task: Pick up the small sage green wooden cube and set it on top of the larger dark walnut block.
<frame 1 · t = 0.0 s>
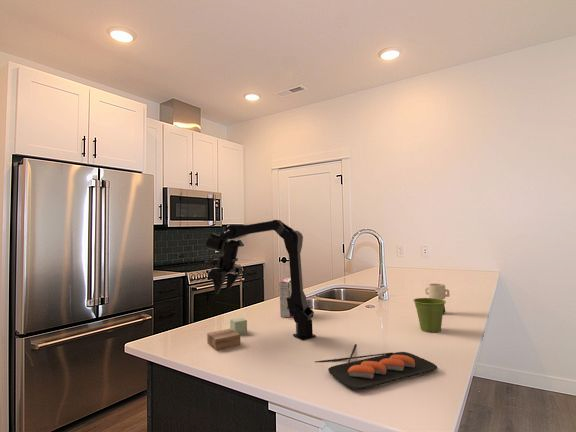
hand: (222, 291, 137), 15 cm above the counter, tool pointing down, fingers open, 9 cm apart
character mug: (438, 313, 155), on the counter
candy bar box: (287, 315, 159), on the counter
green cube: (238, 332, 133), on the counter
plant pot: (430, 330, 130), on the counter
walnut block: (223, 345, 120), on the counter
sushi plate: (365, 365, 100), on the counter
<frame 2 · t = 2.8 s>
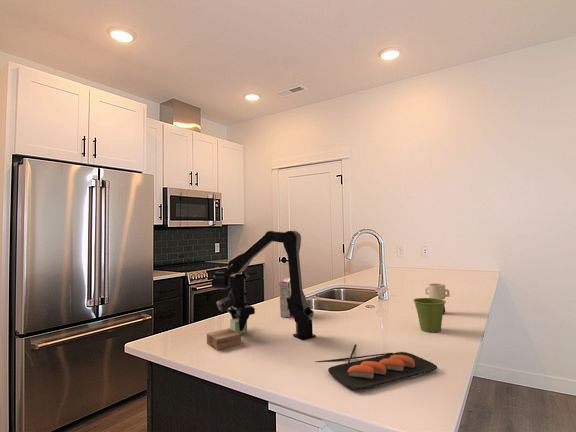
hand: (238, 329, 134), 1 cm above the counter, tool pointing down, fingers closed on green cube, 5 cm apart
green cube: (238, 332, 133), on the counter, touching gripper
everything else where it was.
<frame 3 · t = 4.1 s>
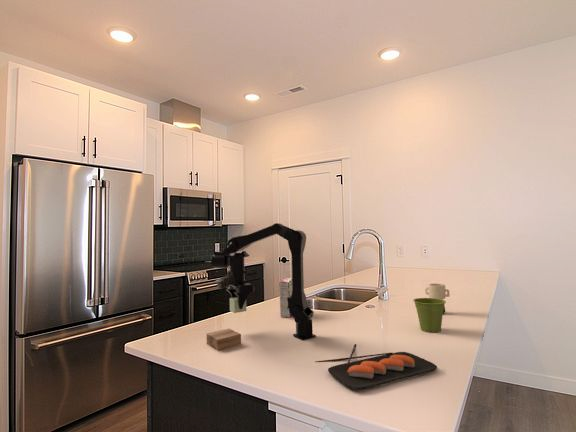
hand: (238, 307, 134), 10 cm above the counter, tool pointing down, fingers closed on green cube, 5 cm apart
green cube: (238, 310, 134), point 8 cm above the counter, touching gripper
everything else where it was.
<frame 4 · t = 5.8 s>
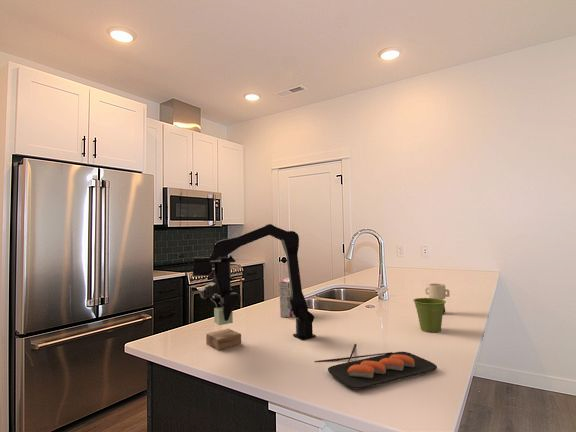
hand: (223, 319, 120), 9 cm above the counter, tool pointing down, fingers closed on green cube, 5 cm apart
green cube: (223, 322, 120), point 8 cm above the counter, touching gripper
everything else where it was.
when the fingers open (6 cm above the counter, at t = 7.1 s): green cube drops 2 cm, point 4 cm above the counter.
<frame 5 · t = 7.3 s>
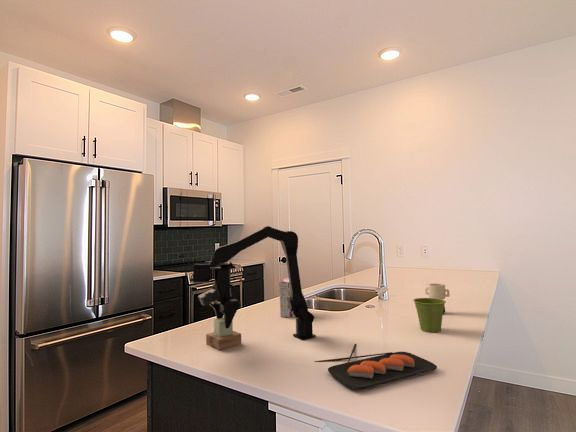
hand: (223, 325, 120), 6 cm above the counter, tool pointing down, fingers open, 7 cm apart
green cube: (223, 333, 120), point 4 cm above the counter
everything else where it was.
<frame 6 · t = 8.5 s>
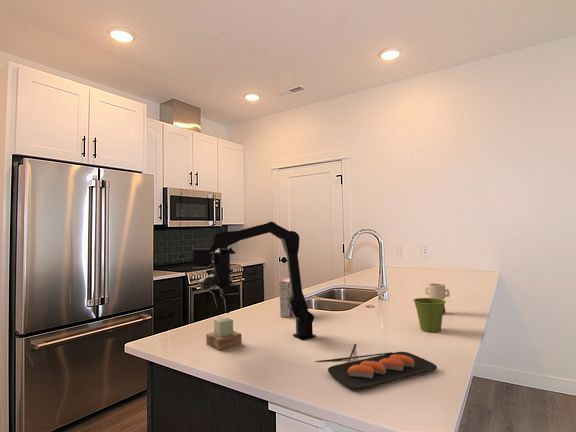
hand: (222, 310, 120), 12 cm above the counter, tool pointing down, fingers open, 9 cm apart
green cube: (223, 333, 120), point 4 cm above the counter, touching walnut block
walnut block: (224, 345, 120), on the counter, touching green cube
everything else where it was.
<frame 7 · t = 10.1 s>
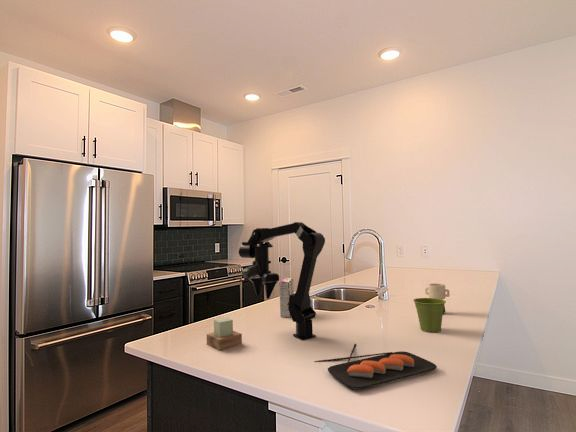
hand: (262, 296, 138), 13 cm above the counter, tool pointing down, fingers open, 9 cm apart
nothing on the counter moved.
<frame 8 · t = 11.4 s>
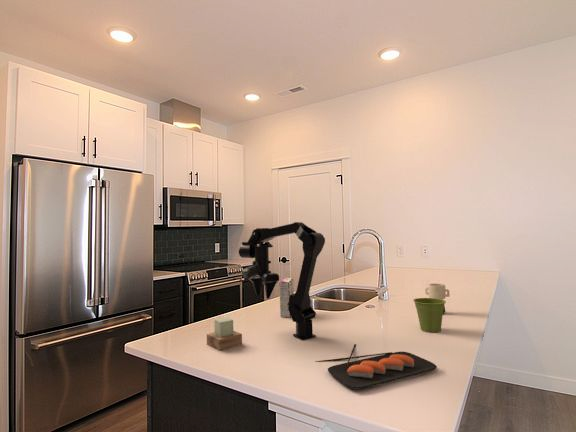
hand: (262, 296, 138), 13 cm above the counter, tool pointing down, fingers open, 9 cm apart
green cube: (224, 333, 120), point 4 cm above the counter
walnut block: (224, 345, 120), on the counter
everything else where it was.
at the end: green cube 0.2 cm off-centre on the walnut block, point 4.0 cm above the walnut block's base; green cube tilted 0°; the gripper is holding nothing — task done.
